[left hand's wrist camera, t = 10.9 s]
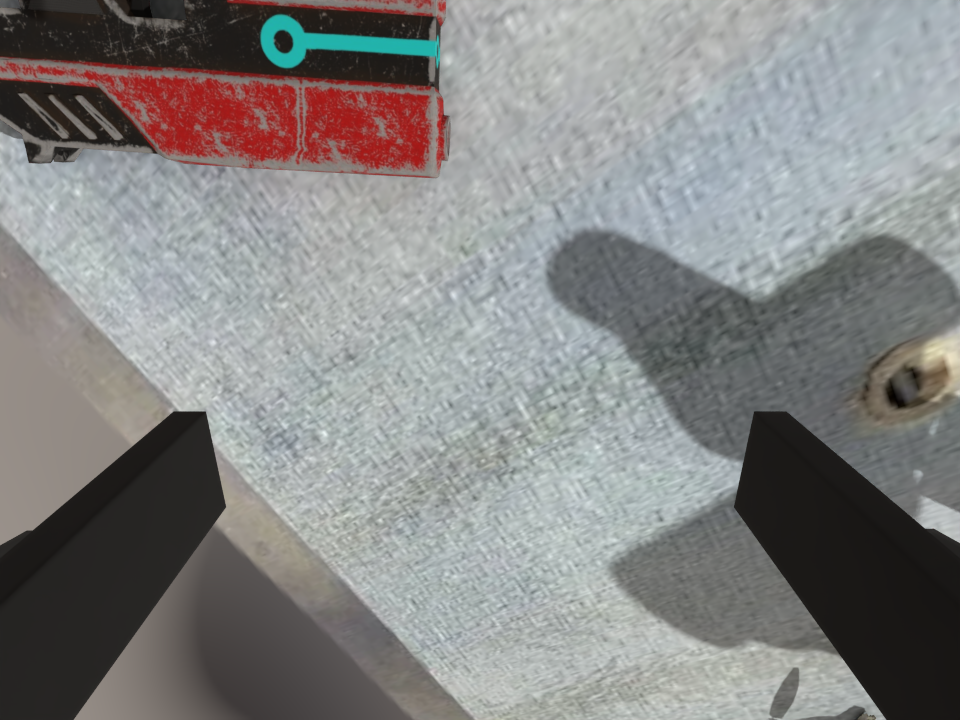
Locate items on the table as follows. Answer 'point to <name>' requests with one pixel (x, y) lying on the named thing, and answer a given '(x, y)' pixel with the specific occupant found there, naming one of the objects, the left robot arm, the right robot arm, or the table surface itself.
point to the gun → (230, 83)
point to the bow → (866, 717)
